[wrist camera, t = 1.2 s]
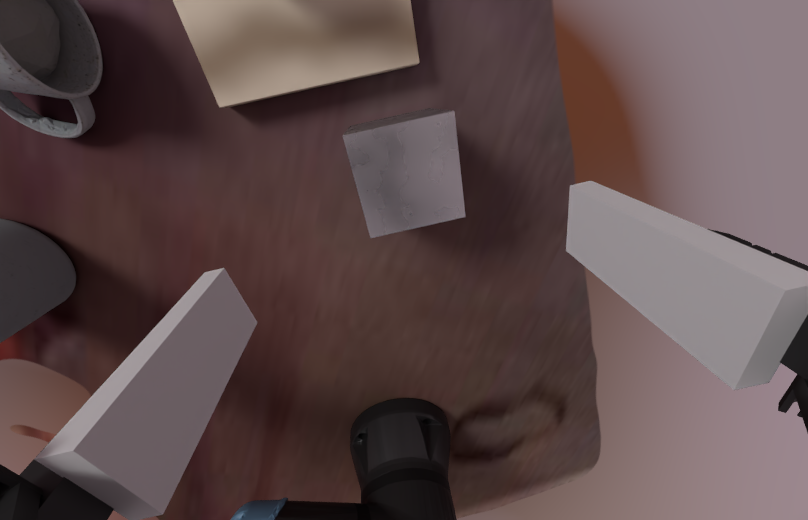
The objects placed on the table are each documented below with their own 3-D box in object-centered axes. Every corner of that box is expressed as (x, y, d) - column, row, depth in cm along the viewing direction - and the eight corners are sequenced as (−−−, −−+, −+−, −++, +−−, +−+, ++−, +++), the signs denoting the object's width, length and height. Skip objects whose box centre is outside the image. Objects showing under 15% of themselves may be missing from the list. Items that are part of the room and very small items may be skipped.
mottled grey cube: (440, 187, 30) (465, 216, 23) (370, 202, 30) (370, 238, 23) (429, 108, 27) (454, 110, 19) (350, 125, 27) (342, 135, 19)
